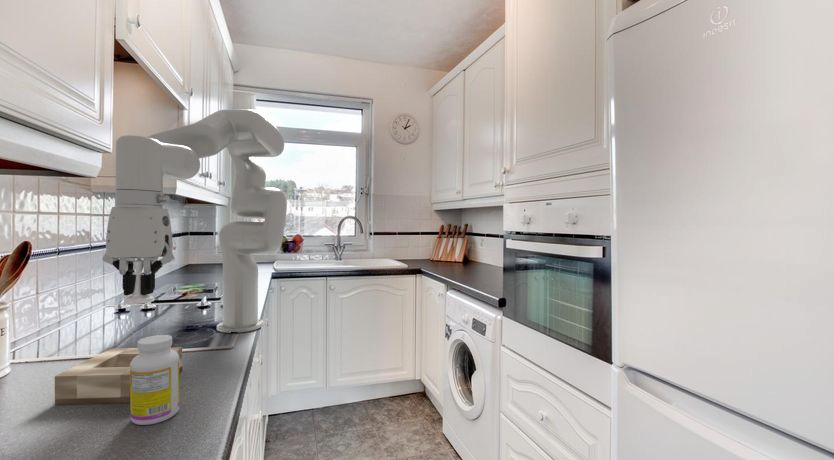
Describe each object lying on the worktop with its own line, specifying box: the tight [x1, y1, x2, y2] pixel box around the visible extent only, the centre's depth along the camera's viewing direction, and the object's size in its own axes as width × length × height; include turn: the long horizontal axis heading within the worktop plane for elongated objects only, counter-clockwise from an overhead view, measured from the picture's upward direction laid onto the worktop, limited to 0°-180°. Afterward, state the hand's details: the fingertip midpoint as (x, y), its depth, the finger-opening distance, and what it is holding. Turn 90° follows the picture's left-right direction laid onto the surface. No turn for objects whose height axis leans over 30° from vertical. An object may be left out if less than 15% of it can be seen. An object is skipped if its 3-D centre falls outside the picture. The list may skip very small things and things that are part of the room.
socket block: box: [54, 346, 183, 406], centre depth 73 cm, size 14×14×5 cm
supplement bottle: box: [129, 334, 180, 426], centre depth 62 cm, size 7×7×13 cm
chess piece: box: [122, 258, 155, 305], centre depth 74 cm, size 5×5×10 cm
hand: (138, 293), depth 74 cm, fingers closed on chess piece
